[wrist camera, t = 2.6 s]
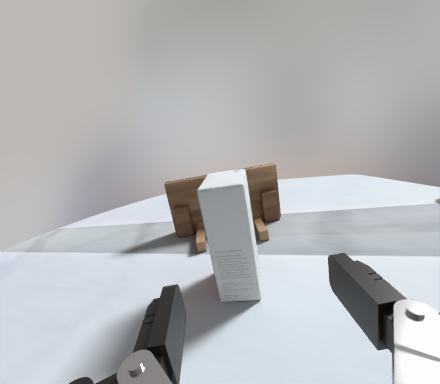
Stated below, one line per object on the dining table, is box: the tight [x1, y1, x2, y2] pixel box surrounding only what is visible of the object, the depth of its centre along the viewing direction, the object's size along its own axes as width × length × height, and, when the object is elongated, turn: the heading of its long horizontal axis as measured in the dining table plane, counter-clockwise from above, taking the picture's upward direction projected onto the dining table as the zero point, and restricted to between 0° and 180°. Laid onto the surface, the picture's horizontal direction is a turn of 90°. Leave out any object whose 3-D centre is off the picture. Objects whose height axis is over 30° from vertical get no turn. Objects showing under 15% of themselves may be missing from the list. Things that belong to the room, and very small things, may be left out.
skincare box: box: [197, 169, 261, 302], centre depth 24 cm, size 6×4×12 cm
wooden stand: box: [164, 163, 281, 253], centre depth 36 cm, size 8×18×9 cm, turn 93°
